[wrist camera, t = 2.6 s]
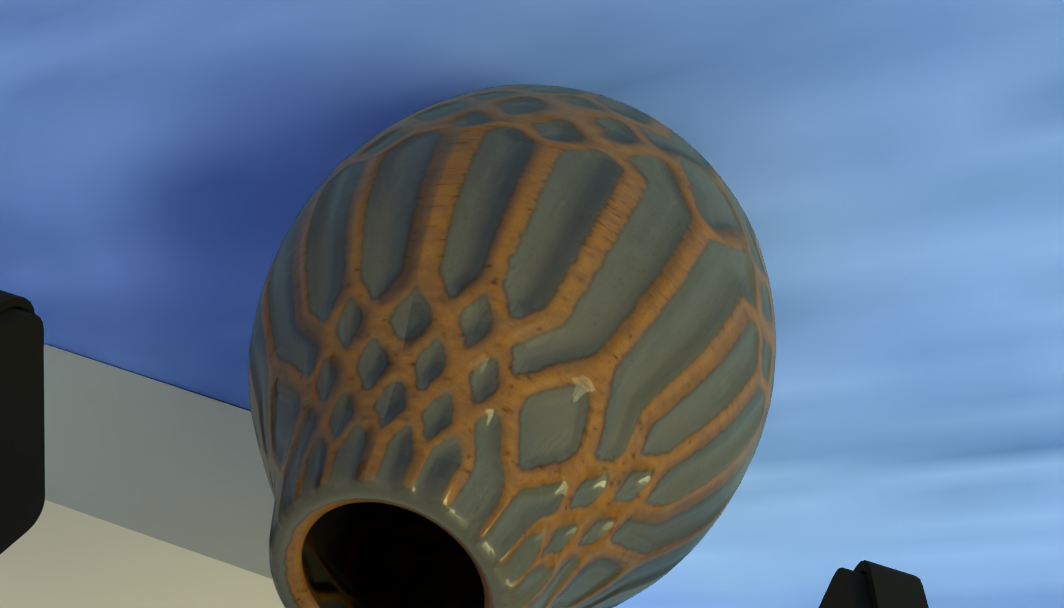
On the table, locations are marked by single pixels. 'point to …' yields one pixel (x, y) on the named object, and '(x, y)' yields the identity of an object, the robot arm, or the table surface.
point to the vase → (508, 360)
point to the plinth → (142, 499)
